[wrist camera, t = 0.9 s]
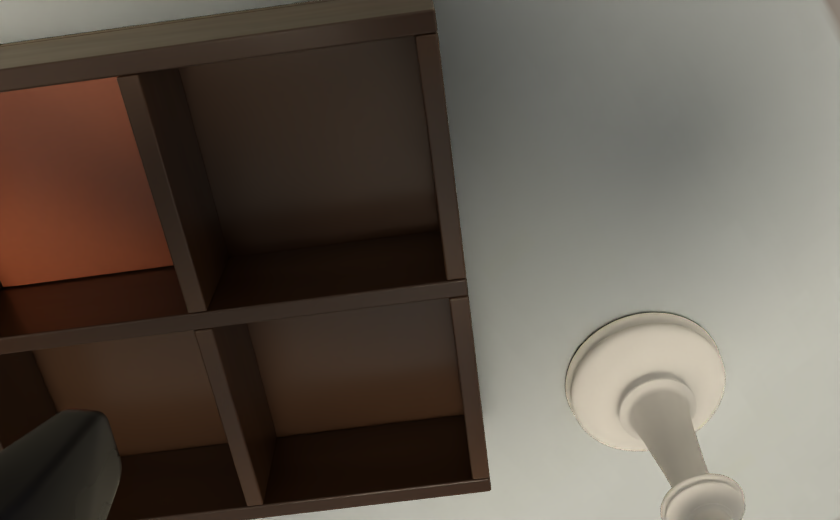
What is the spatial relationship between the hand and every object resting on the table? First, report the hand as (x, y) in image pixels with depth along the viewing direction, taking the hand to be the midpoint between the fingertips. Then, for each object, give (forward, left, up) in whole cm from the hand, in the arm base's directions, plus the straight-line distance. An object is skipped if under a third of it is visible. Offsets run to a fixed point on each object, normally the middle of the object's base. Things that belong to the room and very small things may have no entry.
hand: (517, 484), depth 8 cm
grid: (-4, +7, -14) cm, 16 cm away
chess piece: (-10, -5, -15) cm, 18 cm away
